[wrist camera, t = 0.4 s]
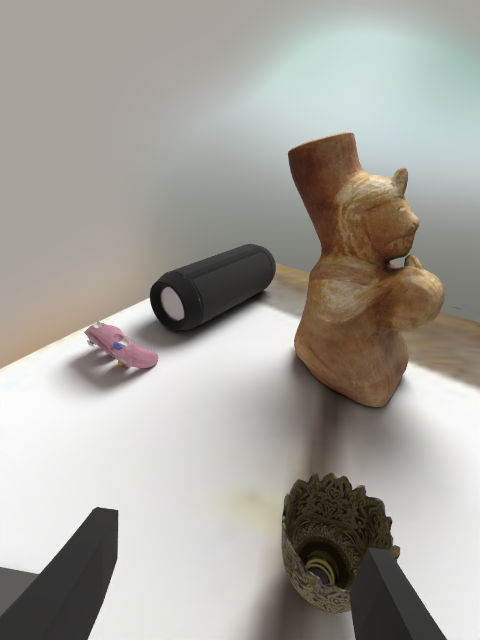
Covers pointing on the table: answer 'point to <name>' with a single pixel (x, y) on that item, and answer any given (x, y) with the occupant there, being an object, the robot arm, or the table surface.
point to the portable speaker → (211, 286)
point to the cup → (331, 537)
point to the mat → (13, 586)
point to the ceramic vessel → (359, 273)
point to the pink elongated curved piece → (120, 346)
